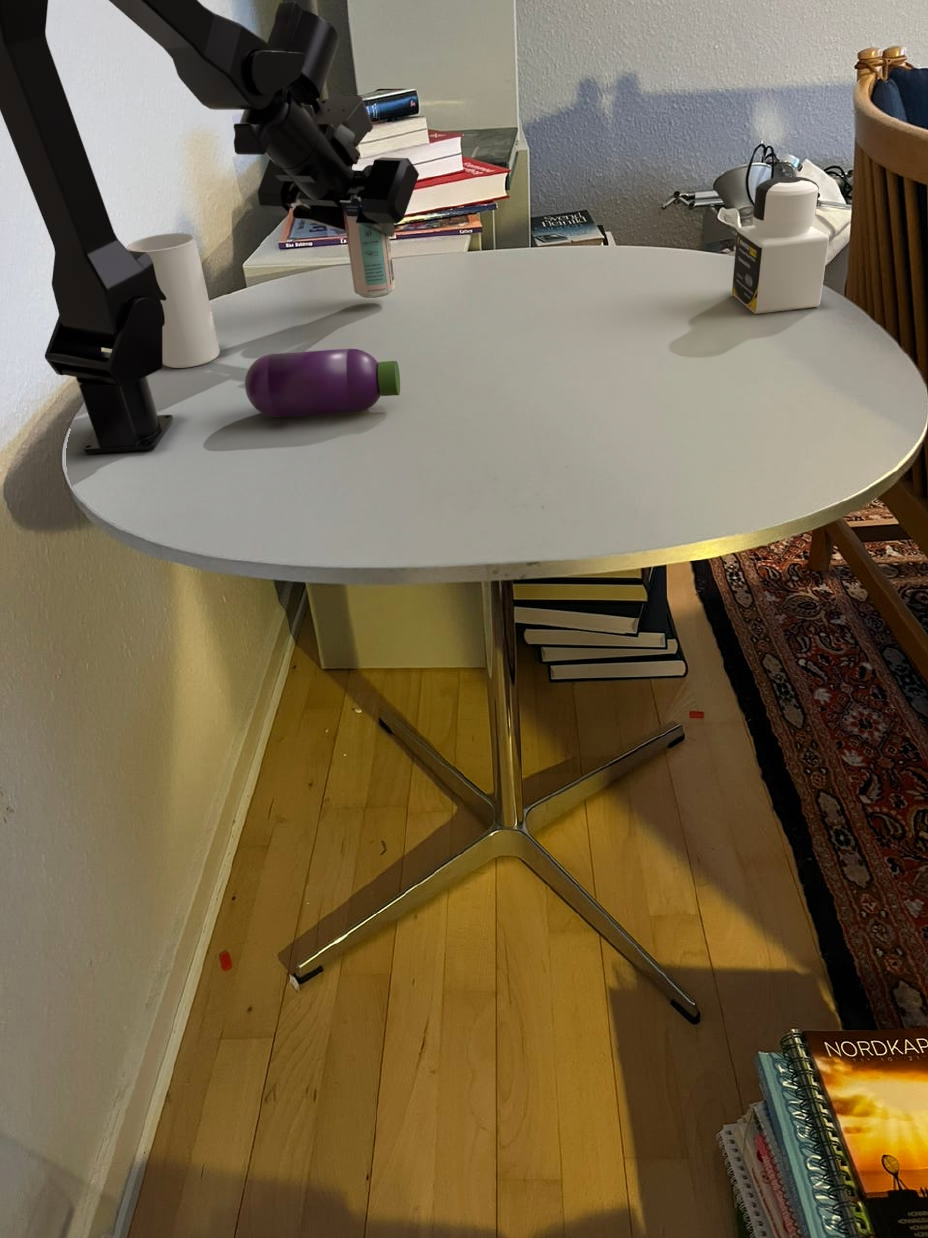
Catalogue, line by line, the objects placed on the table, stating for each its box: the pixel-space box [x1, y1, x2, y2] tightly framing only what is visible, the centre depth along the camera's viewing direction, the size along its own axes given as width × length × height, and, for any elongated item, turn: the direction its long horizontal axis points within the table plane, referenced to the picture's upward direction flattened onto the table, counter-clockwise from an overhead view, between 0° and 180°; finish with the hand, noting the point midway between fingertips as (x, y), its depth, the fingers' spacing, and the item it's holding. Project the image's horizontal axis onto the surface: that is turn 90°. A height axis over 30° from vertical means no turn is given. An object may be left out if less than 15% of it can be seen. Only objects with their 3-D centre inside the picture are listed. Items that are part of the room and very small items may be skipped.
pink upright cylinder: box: [342, 195, 396, 299], centre depth 107 cm, size 5×5×12 cm
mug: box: [126, 232, 221, 369], centre depth 100 cm, size 10×7×12 cm, turn 5°
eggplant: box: [244, 348, 401, 418], centre depth 85 cm, size 6×14×6 cm, turn 88°
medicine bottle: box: [731, 176, 830, 315], centre depth 98 cm, size 7×7×12 cm
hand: (375, 231), depth 108 cm, fingers closed on pink upright cylinder, 5 cm apart
